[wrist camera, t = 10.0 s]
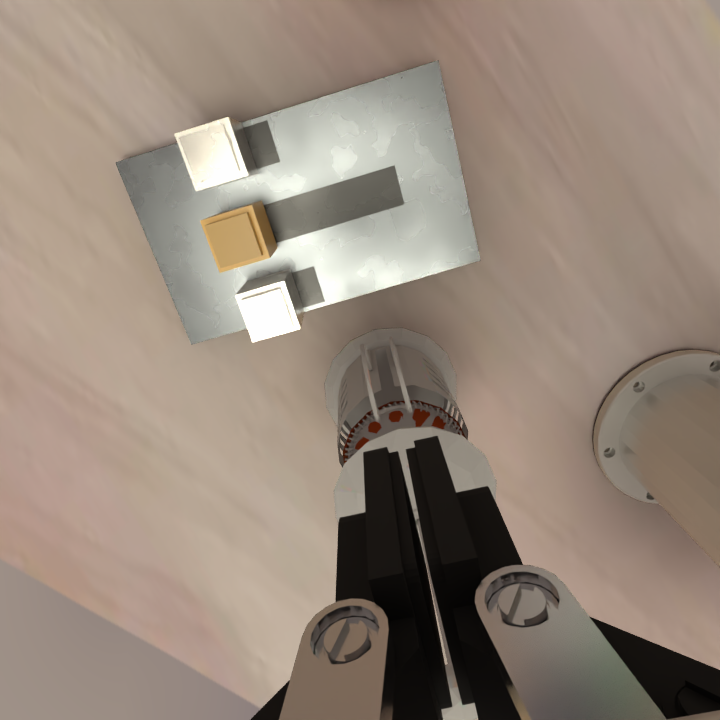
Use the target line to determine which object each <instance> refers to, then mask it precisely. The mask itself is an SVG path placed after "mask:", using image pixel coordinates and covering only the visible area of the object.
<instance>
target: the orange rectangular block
mask: <svg viewBox="0 0 720 720" xmlns="http://www.w3.org/2000/svg"><path fill="white" fill-rule="evenodd" d="M200 223H201V225H202V228H203V230H204V233H205V236H206V238H207V241H208V244H209V246H210V249H211V251H212V254H213V257H214V259H215V262H216V265H217V267H218V270H219V272H220V273H222V272H225V271H228V270H232V269H235V268H238V267H242V266H245V265H248V264H252V263H255V262H258V261H262V260H265V259H268V258H270V257H271V256H272V255H273V254H274V252H275V251H276V250H277V248H278V247H277V244H276V241H275V238H274V235H273V232H272V229H271V226H270V223H269V220H268V217H267V214H266V211H265V208H264V205H263V202H262V201H259V202H255V203H252V204H249V205H246V206H242V207H239V208H236V209H232V210H229V211H226V212H223V213H219V214H216V215H213V216H211V217H208V218H206V219H203V220H200Z"/></svg>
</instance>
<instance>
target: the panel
mask: <svg viewBox="0 0 720 720" xmlns="http://www.w3.org/2000/svg"><path fill="white" fill-rule="evenodd" d="M174 135H175V138H176V140H177V143H176V144H172V145H169V146H166V147H163V148H160V149H157V150H154V151H150V152H147V153H144V154H141V155H138V156H135V157H131V158H128V159H125V160H122V161H119V162H116V165H117V168H118V170H119V173H120V175H121V177H122V180H123V182H124V185H125V187H126V189H127V192H128V194H129V197H130V199H131V201H132V204H133V206H134V208H135V211H136V213H137V216H138V218H139V220H140V223H141V225H142V228H143V230H144V232H145V235H146V237H147V240H148V242H149V244H150V247H151V249H152V251H153V254H154V256H155V259H156V261H157V263H158V266H159V268H160V271H161V273H162V275H163V278H164V280H165V283H166V285H167V287H168V290H169V292H170V295H171V297H172V299H173V302H174V304H175V306H176V309H177V311H178V314H179V316H180V318H181V321H182V323H183V326H184V328H185V330H186V333H187V335H188V338H189V340H190V342H191V345H192V344H196V343H199V342H203V341H206V340H209V339H213V338H216V337H220V336H223V335H227V334H230V333H234V332H237V331H240V330H244V329H248V331H249V334H250V337H251V339H252V342H256V341H260V340H263V339H267V338H270V337H274V336H277V335H281V334H284V333H288V332H291V331H294V330H298V329H301V325H302V321H303V317H304V313H305V312H306V311H309V310H312V309H316V308H319V307H323V306H326V305H330V304H333V303H337V302H340V301H343V300H347V299H350V298H354V297H357V296H361V295H364V294H367V293H371V292H374V291H378V290H381V289H385V288H388V287H391V286H395V285H398V284H402V283H405V282H409V281H412V280H415V279H419V278H422V277H426V276H429V275H433V274H436V273H440V272H443V271H446V270H450V269H453V268H457V267H460V266H464V265H467V264H470V263H474V262H477V261H481V260H480V255H479V251H478V246H477V241H476V236H475V232H474V227H473V222H472V217H471V213H470V208H469V203H468V198H467V194H466V189H465V184H464V179H463V175H462V170H461V165H460V160H459V156H458V151H457V146H456V142H455V137H454V132H453V127H452V123H451V118H450V113H449V108H448V104H447V99H446V94H445V89H444V85H443V80H442V75H441V70H440V66H439V61H434V62H431V63H428V64H425V65H422V66H419V67H415V68H412V69H409V70H406V71H403V72H400V73H397V74H393V75H390V76H387V77H384V78H381V79H378V80H374V81H371V82H368V83H365V84H362V85H359V86H355V87H352V88H349V89H346V90H343V91H340V92H337V93H333V94H330V95H327V96H324V97H321V98H318V99H314V100H311V101H308V102H305V103H302V104H299V105H296V106H292V107H289V108H286V109H283V110H280V111H277V112H273V113H270V114H267V115H264V116H261V117H258V118H255V119H251V120H248V121H245V122H242V123H241V122H239V121H237V120H234V119H232V118H230V117H226V118H223V119H219V120H216V121H213V122H210V123H207V124H204V125H201V126H197V127H194V128H191V129H188V130H185V131H182V132H179V133H175V134H174ZM259 201H262V202H263V205H264V208H265V211H266V214H267V217H268V220H269V223H270V226H271V229H272V232H273V235H274V238H275V241H276V244H277V247H278V248H277V250H276V251H275V252H274V254H273V255H272V256H271V257H270V258H268V259H265V260H262V261H258V262H255V263H252V264H248V265H245V266H242V267H238V268H235V269H232V270H228V271H225V272H222V273H220V272H219V270H218V267H217V265H216V262H215V259H214V257H213V254H212V251H211V249H210V246H209V244H208V241H207V238H206V236H205V233H204V230H203V228H202V225H201V223H200V220H203V219H206V218H208V217H211V216H213V215H216V214H219V213H223V212H226V211H229V210H232V209H236V208H239V207H242V206H246V205H249V204H252V203H255V202H259Z"/></svg>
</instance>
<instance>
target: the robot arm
mask: <svg viewBox="0 0 720 720" xmlns="http://www.w3.org/2000/svg"><path fill="white" fill-rule="evenodd" d="M593 444H594V453H595V456H596V459H597V462H598V465H599V467H600V468H601V470H602V471H603V473H604V474H605V476H606V477H607V478H608V479H609V480H610V482H611V483H612V484H613V485H614V486H615V487H616V488H617V489H619V490H620V491H621V492H623V493H624V494H625V495H627V496H630V497H632V498H634V499H636V500H639V501H642V502H646V503H651V504H660V505H661V506H662V507H663V508H664V509H665V510H666V511H667V512H668V513H669V514H670V516H671V517H672V518H673V519H674V520H675V521H676V522H677V523H678V524H679V525H680V526H681V527H682V528H683V529H684V530H685V531H686V532H687V534H688V535H689V536H690V537H691V538H692V539H693V540H694V541H695V542H696V543H697V544H698V545H699V546H700V547H701V548H702V549H703V550H704V551H705V553H706V554H707V555H708V556H709V557H710V558H711V559H712V560H713V561H714V562H715V563H716V564H717V565H718V566H719V567H720V354H717V353H714V352H710V351H703V350H684V351H675V352H672V353H668V354H665V355H661V356H658V357H656V358H654V359H652V360H650V361H647V362H645V363H643V364H642V365H640V366H639V367H637V368H636V369H634V370H633V371H631V372H630V373H629V374H628V375H627V376H625V377H624V378H623V379H622V380H621V381H620V382H619V383H618V384H617V385H616V386H615V387H614V389H613V390H612V391H611V393H610V394H609V395H608V396H607V398H606V400H605V402H604V403H603V405H602V407H601V409H600V411H599V414H598V417H597V420H596V423H595V427H594V436H593ZM414 445H415V447H414V448H409V449H406V454H407V459H408V464H409V470H410V475H411V480H412V485H413V490H414V495H415V500H416V506H417V511H418V516H419V521H420V526H421V531H422V536H423V542H424V547H425V552H426V557H427V562H428V566H429V571H430V575H431V580H432V584H433V588H434V592H435V596H436V600H437V604H438V608H439V612H440V616H441V620H442V625H443V629H444V633H445V637H446V641H447V645H448V649H449V653H450V657H451V661H452V665H453V669H454V673H455V677H456V682H457V686H458V690H459V694H460V698H461V702H462V705H466V704H472V703H475V707H476V711H477V715H478V720H720V670H718V669H716V668H713V667H711V666H708V665H706V664H704V663H701V662H699V661H696V660H694V659H691V658H689V657H686V656H684V655H682V654H679V653H677V652H674V651H672V650H669V649H667V648H665V647H662V646H660V645H657V644H655V643H652V642H650V641H647V640H645V639H643V638H640V637H638V636H635V635H633V634H630V633H628V632H626V631H623V630H621V629H618V628H616V627H613V626H611V625H608V624H606V623H604V622H601V621H599V620H596V619H594V618H591V617H589V616H588V614H587V613H586V612H585V610H584V609H583V608H582V607H581V605H580V604H579V603H578V601H577V600H576V599H575V597H574V596H573V595H572V593H571V592H570V591H569V589H568V588H567V587H566V585H565V584H564V583H563V582H562V581H561V580H560V579H559V578H558V577H557V576H556V575H554V574H552V573H551V572H549V571H547V570H545V569H543V568H539V567H535V566H531V565H523V564H522V562H521V559H520V557H519V555H518V552H517V550H516V548H515V545H514V543H513V541H512V539H511V536H510V534H509V532H508V529H507V527H506V525H505V523H504V520H503V518H502V516H501V513H500V511H499V509H498V507H497V504H496V502H495V500H494V497H493V495H492V493H491V491H490V489H489V487H488V486H484V487H480V488H475V489H470V490H466V491H461V492H456V490H455V487H454V484H453V481H452V478H451V475H450V472H449V469H448V466H447V463H446V460H445V457H444V454H443V450H442V447H441V444H440V441H439V438H438V436H433V437H429V438H424V439H420V440H415V441H414ZM363 463H364V488H365V512H364V513H359V514H354V515H350V516H345V517H340V519H339V524H338V551H337V577H336V603H333V604H331V605H329V606H327V607H325V608H324V609H323V610H321V611H320V612H319V613H317V614H316V615H315V616H314V617H313V618H312V620H311V621H310V622H309V623H308V625H307V626H306V629H305V631H304V633H303V635H302V638H301V642H300V645H299V649H298V653H297V656H296V660H295V663H294V667H293V671H292V674H291V678H290V680H289V681H288V682H287V683H286V684H285V685H284V686H283V687H282V688H281V689H280V690H279V691H278V692H277V693H276V694H275V695H274V696H273V697H272V698H271V699H270V700H269V701H268V702H267V703H266V704H265V705H264V706H263V707H262V708H261V709H260V711H259V712H258V713H257V714H256V715H255V716H254V717H253V718H252V719H251V720H443V716H442V710H441V709H445V708H451V707H452V700H451V695H450V690H449V684H448V679H447V674H446V669H445V663H444V658H443V653H442V647H441V642H440V637H439V631H438V626H437V621H436V616H435V610H434V605H433V600H432V594H431V589H430V584H429V579H428V573H427V568H426V563H425V558H424V554H423V550H422V546H421V541H420V537H419V533H418V529H417V525H416V521H415V517H414V513H413V509H412V505H411V501H410V497H409V493H408V489H407V485H406V481H405V477H404V473H403V469H402V465H401V460H400V456H399V453H398V451H396V452H391V453H389V451H388V448H387V447H384V448H379V449H375V450H370V451H366V452H363Z"/></svg>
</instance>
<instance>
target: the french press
mask: <svg viewBox="0 0 720 720" xmlns="http://www.w3.org/2000/svg"><path fill="white" fill-rule="evenodd" d="M325 396H326V407H327V409H328V411H329V413H330V415H331V416H332V418H333V420H334V422H335V424H336V426H337V428H338V429H339V430H338V436H337V443H338V453H339V462H340V464H341V465H342V467H343V468H342V471H341V473H340V476H339V479H338V481H337V484H336V486H335V489H334V501H335V514H336V519H337V521H338V523H339V519H340V517H345V516H350V515H354V514H359V513H364V512H365V488H364V463H363V452H366V451H370V450H375V449H379V448H384V447H387V448H388V451H389V453H391V452H396V451H398V453H399V456H400V460H401V465H402V469H403V473H404V477H405V481H406V485H407V489H408V493H409V497H410V501H411V505H412V509H413V513H414V517H415V521H416V525H417V529H418V533H419V537H420V541H421V546H422V550H423V554H424V558H425V563H426V565H427V569H428V574H429V579H430V583H431V588H432V592H433V597H434V602H435V606H436V611H437V616H438V620H439V625H440V630H441V634H442V639H443V643H444V648H445V653H446V657H447V662H448V664H447V665H445V669H446V674H447V679H448V684H449V690H450V695H451V700H452V707H451V708H445V709H441V710H442V716H443V719H444V720H476V719H477V718H478V715H477V711H476V707H475V703H472V704H466V705H462V702H461V698H460V694H459V690H458V686H457V682H456V677H455V673H454V669H453V665H452V661H451V657H450V653H449V649H448V645H447V641H446V637H445V633H444V629H443V625H442V620H441V616H440V612H439V608H438V604H437V600H436V596H435V592H434V588H433V584H432V580H431V575H430V571H429V566H428V562H427V557H426V552H425V547H424V542H423V536H422V531H421V526H420V521H419V516H418V511H417V506H416V500H415V495H414V490H413V485H412V480H411V475H410V470H409V464H408V459H407V454H406V449H409V448H414V447H415V445H414V441H415V440H420V439H424V438H429V437H433V436H438V438H439V441H440V444H441V447H442V450H443V454H444V457H445V460H446V463H447V466H448V469H449V472H450V475H451V478H452V481H453V484H454V487H455V490H456V492H461V491H466V490H470V489H475V488H480V487H484V486H488V487H489V489H490V491H491V493H492V495H493V497H494V500H495V498H496V479H495V476H494V474H493V472H492V470H491V467H490V465H489V463H488V460H487V458H486V456H485V455H484V454H483V453H482V452H481V451H480V450H479V449H477V448H476V447H475V446H474V445H473V444H472V443H470V442H469V441H468V430H467V427H466V425H465V422H464V420H463V418H462V415H461V413H460V410H459V408H458V407H457V404H456V402H455V401H456V373H455V371H454V369H453V367H452V364H451V362H450V360H449V358H448V356H447V353H446V352H445V351H444V350H442V349H441V348H440V347H439V346H438V345H437V344H436V343H435V342H433V341H432V340H431V339H430V338H429V337H428V336H426V335H423V334H420V333H417V332H414V331H411V330H408V329H405V328H389V329H375V330H373V331H370V332H368V333H366V334H364V335H362V336H360V337H358V338H356V339H353V340H351V341H350V342H349V343H348V344H347V345H346V346H345V347H344V348H343V350H342V351H341V352H340V353H339V354H338V355H337V356H336V357H335V358H334V359H333V361H332V364H331V367H330V369H329V372H328V375H327V378H326V381H325ZM453 406H454V407H455V408H454V414H453V417H452V416H451V411H452V407H453ZM457 410H458V412H459V416H458V421H456V420H455V418H456V413H457ZM461 418H462V420H463V425H462V429H461V427H460V422H461ZM341 431H342V432H343V433H344V434H345V436H346V437H347V440H346V439H345V438H344V437H343V436H342V435H341V434H340V432H341ZM339 436H340V437H339ZM340 438H341V440H342V441H343V442H344V444H345V446H343V445H342V444H341V443H340ZM339 446H340V447H339ZM340 448H341V449H342V451H343V456H342V455H341V454H340Z"/></svg>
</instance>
